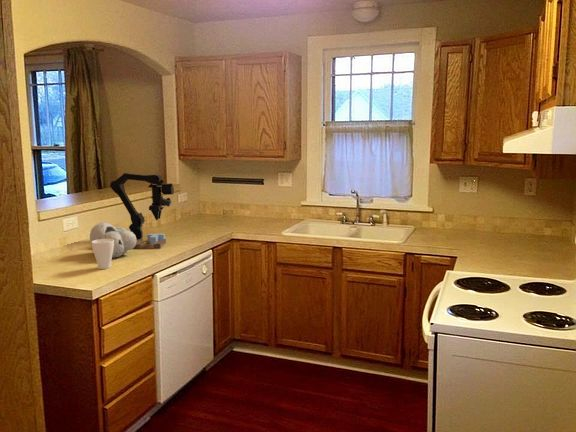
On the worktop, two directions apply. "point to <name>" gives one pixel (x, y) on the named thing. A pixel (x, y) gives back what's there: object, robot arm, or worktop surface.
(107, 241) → the cup
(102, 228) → the grey lobed sculpture
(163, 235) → the t block
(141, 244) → the dock
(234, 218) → the worktop surface
